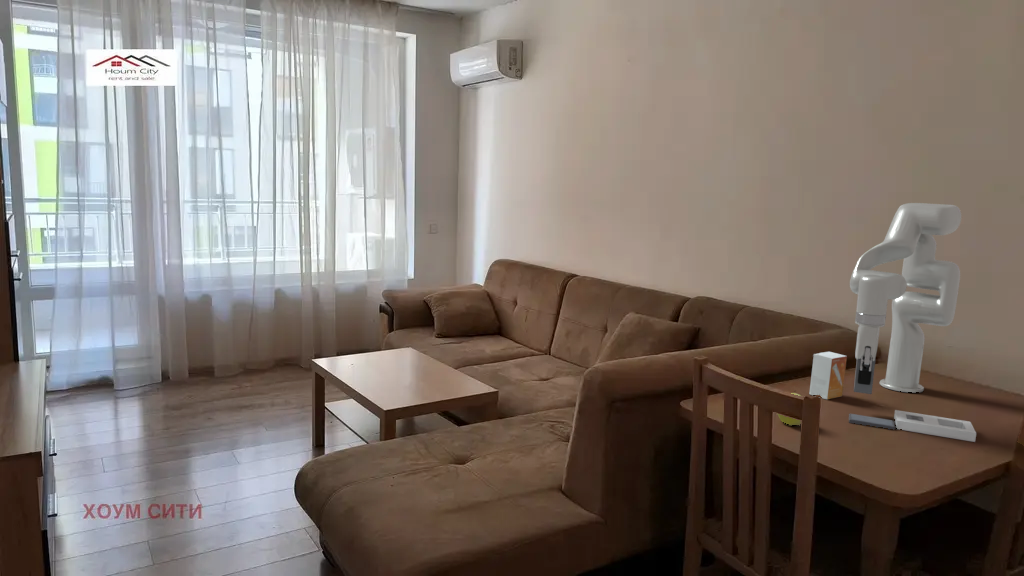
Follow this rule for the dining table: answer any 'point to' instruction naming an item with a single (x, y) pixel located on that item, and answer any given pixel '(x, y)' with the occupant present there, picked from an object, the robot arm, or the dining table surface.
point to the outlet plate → (935, 425)
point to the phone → (871, 421)
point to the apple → (789, 420)
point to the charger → (862, 387)
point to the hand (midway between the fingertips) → (863, 380)
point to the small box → (828, 375)
